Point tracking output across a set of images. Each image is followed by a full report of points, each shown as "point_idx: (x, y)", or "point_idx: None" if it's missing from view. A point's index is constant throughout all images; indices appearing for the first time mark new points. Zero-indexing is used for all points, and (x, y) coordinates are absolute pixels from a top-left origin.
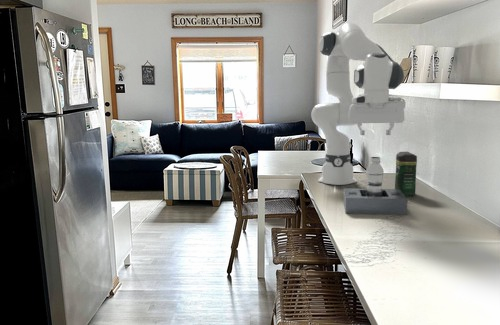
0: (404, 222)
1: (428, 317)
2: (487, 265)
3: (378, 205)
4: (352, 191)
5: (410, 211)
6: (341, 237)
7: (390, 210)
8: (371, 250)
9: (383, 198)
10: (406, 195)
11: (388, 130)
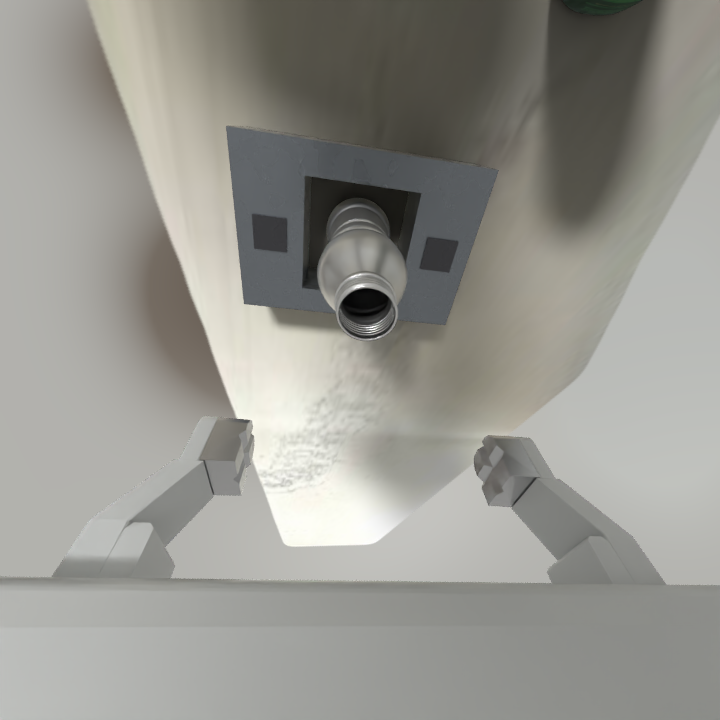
0: (399, 356)
1: (324, 544)
2: (431, 489)
3: None
4: (270, 204)
5: None
6: None
7: None
8: (298, 461)
9: None
10: (584, 12)
11: (505, 505)
